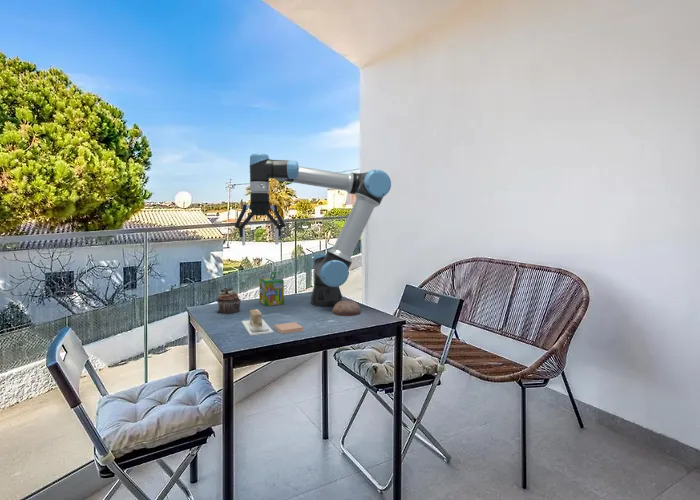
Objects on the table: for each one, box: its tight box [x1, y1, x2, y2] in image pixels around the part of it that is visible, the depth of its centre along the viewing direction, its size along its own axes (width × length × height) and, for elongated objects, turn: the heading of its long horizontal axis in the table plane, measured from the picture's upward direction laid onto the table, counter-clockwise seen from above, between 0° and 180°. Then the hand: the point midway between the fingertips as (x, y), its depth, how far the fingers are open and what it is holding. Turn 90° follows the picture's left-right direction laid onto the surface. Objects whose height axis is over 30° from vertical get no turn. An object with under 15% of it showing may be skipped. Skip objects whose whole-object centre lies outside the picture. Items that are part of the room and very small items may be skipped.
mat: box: [241, 318, 274, 337], centre depth 149 cm, size 8×18×1 cm, turn 24°
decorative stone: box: [331, 299, 361, 317], centre depth 172 cm, size 12×12×6 cm
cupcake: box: [216, 287, 242, 315], centre depth 172 cm, size 10×10×10 cm
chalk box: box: [259, 271, 285, 307], centre depth 187 cm, size 9×9×15 cm
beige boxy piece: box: [249, 308, 269, 333], centre depth 147 cm, size 6×13×5 cm, turn 24°
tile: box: [273, 321, 304, 335], centre depth 147 cm, size 8×2×8 cm
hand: (260, 244), depth 167 cm, fingers open, 13 cm apart
